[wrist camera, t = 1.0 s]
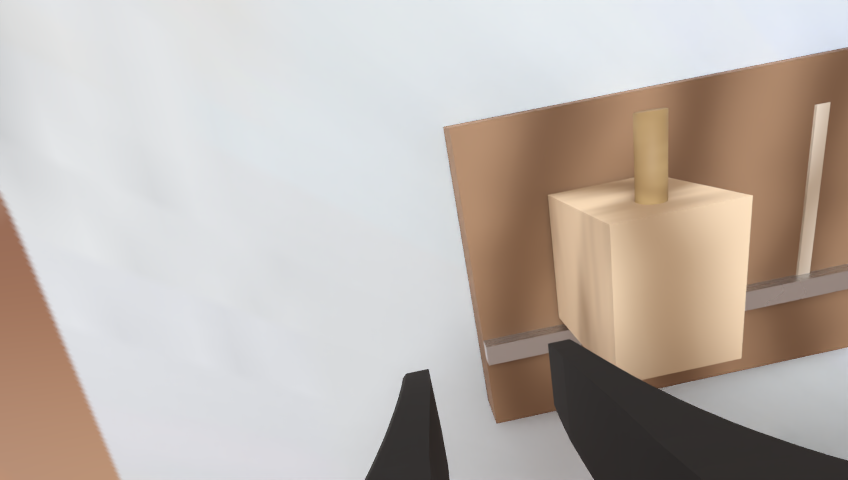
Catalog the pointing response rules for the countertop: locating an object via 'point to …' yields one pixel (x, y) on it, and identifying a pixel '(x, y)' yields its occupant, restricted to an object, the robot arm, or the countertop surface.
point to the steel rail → (755, 298)
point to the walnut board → (687, 160)
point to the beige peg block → (652, 263)
